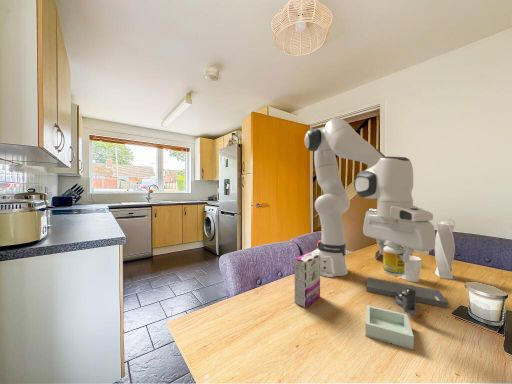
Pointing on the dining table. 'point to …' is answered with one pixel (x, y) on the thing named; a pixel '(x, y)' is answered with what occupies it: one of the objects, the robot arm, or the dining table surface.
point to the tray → (389, 326)
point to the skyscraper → (444, 249)
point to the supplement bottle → (393, 259)
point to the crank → (408, 300)
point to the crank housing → (393, 288)
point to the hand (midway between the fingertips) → (393, 257)
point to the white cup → (412, 269)
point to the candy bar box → (307, 278)
